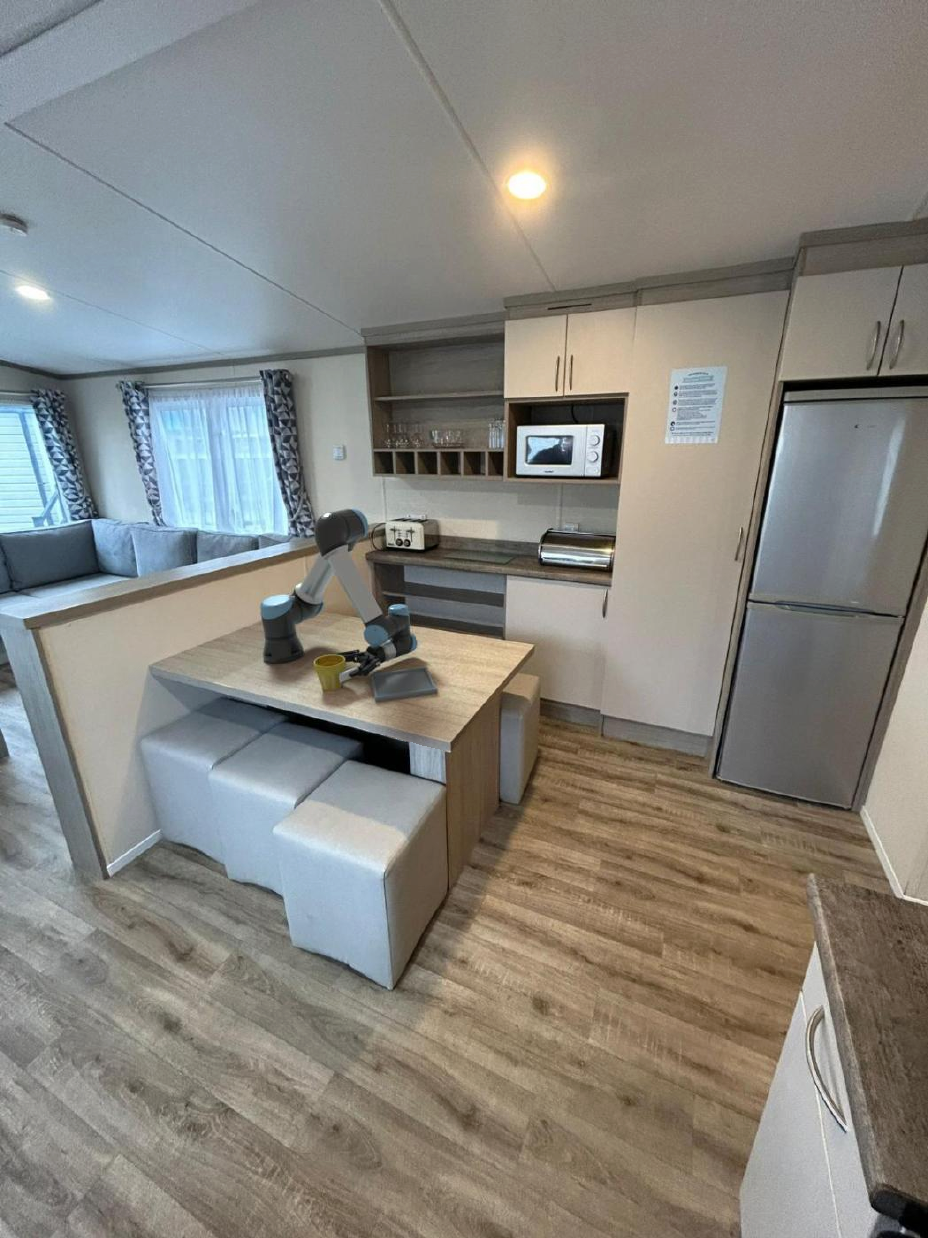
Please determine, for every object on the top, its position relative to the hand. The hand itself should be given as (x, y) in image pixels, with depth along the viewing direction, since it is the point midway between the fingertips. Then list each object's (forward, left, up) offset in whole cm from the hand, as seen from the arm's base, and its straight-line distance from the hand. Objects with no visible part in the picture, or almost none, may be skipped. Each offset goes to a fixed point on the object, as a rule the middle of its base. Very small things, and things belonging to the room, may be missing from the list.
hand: (328, 672), depth 162 cm
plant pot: (+1, +1, -6) cm, 6 cm away
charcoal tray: (+24, -6, -6) cm, 25 cm away
